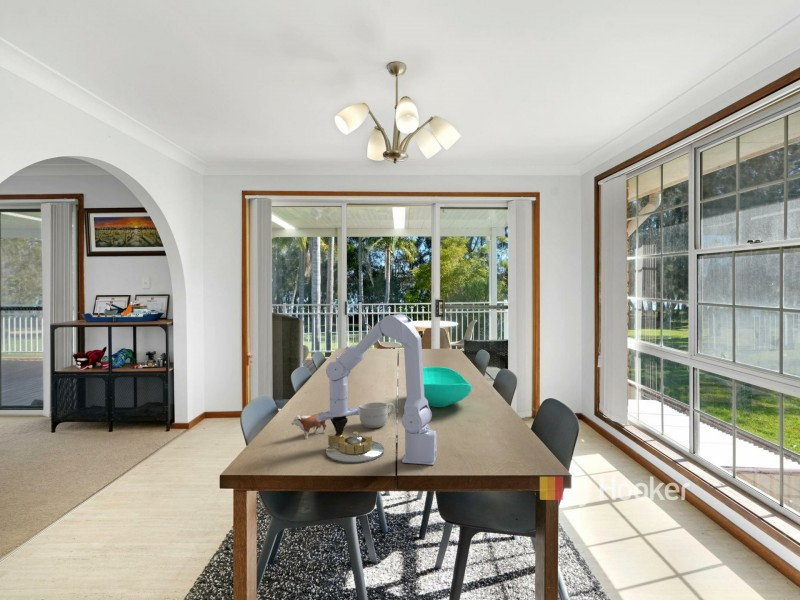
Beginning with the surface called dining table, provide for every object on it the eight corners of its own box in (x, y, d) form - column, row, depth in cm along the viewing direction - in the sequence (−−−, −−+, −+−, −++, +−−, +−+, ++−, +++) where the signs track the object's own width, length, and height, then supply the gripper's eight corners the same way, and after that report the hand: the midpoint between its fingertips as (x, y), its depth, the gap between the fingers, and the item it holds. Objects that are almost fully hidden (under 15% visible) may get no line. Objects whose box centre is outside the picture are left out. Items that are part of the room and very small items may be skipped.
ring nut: (348, 437, 154) (348, 427, 154) (378, 447, 145) (378, 436, 145) (324, 445, 146) (323, 435, 146) (354, 456, 137) (354, 445, 137)
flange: (389, 444, 151) (389, 429, 151) (375, 465, 134) (375, 449, 133) (337, 440, 155) (337, 426, 155) (317, 460, 137) (317, 444, 137)
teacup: (361, 431, 165) (361, 409, 164) (356, 423, 175) (356, 402, 175) (399, 428, 168) (399, 406, 168) (392, 419, 179) (392, 399, 178)
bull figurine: (289, 439, 157) (289, 415, 157) (322, 430, 166) (322, 407, 166) (296, 442, 154) (296, 418, 154) (329, 433, 163) (329, 410, 163)
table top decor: (480, 417, 181) (480, 384, 180) (410, 419, 180) (410, 385, 179) (462, 393, 221) (462, 366, 220) (404, 394, 219) (404, 367, 219)
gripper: (353, 392, 155) (353, 432, 156) (312, 398, 148) (313, 440, 148) (363, 397, 149) (363, 438, 150) (321, 403, 142) (321, 446, 142)
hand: (338, 439), depth 149 cm, fingers closed, pressing on ring nut
